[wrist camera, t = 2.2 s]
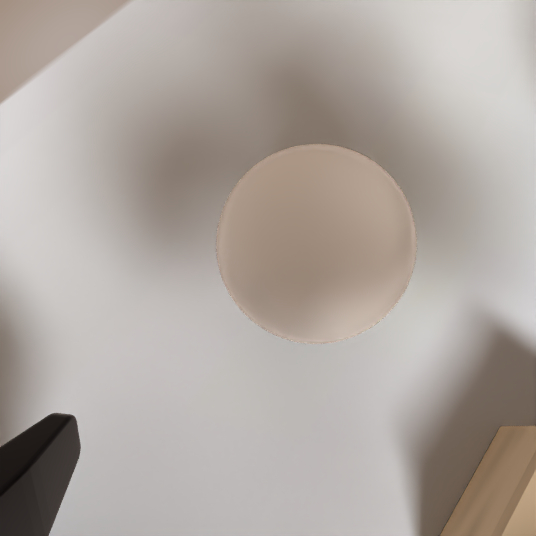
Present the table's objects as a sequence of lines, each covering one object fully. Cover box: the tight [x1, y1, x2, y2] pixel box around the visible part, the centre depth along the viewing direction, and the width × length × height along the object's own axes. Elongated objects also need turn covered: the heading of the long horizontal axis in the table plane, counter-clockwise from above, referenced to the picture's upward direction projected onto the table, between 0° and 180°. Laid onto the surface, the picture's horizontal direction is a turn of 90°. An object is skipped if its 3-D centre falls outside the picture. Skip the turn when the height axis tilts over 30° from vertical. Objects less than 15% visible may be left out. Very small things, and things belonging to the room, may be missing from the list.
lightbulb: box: [216, 144, 417, 344], centre depth 17 cm, size 6×6×11 cm
